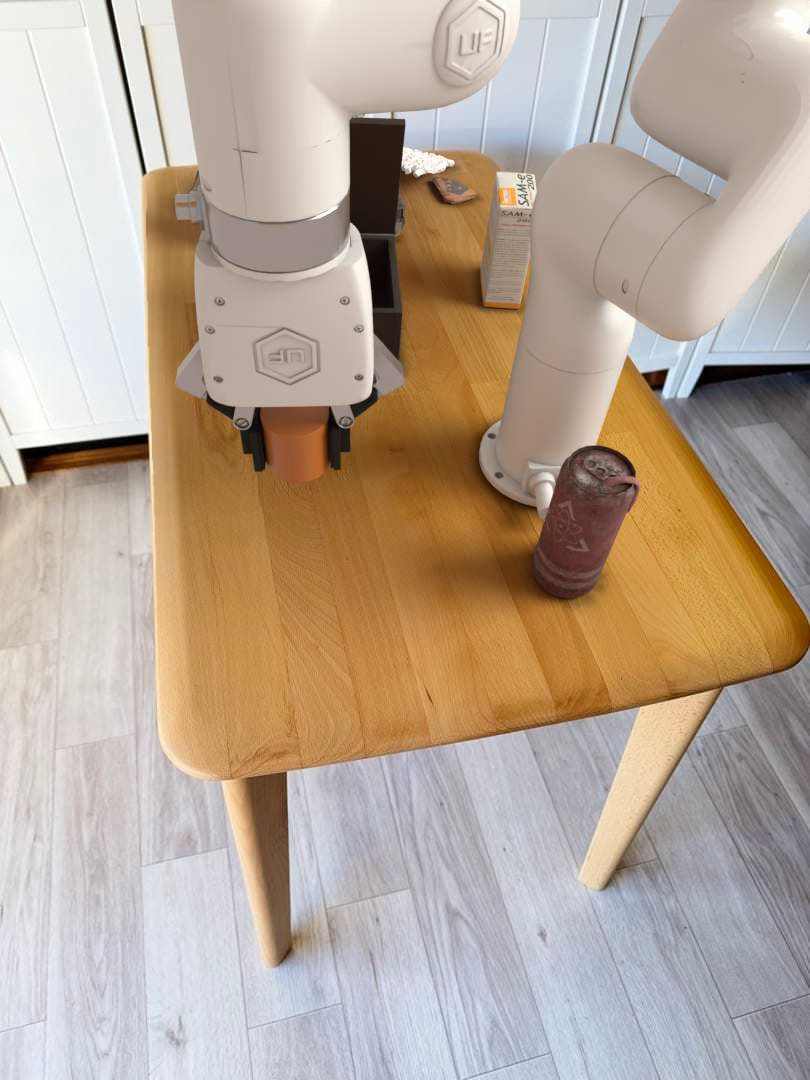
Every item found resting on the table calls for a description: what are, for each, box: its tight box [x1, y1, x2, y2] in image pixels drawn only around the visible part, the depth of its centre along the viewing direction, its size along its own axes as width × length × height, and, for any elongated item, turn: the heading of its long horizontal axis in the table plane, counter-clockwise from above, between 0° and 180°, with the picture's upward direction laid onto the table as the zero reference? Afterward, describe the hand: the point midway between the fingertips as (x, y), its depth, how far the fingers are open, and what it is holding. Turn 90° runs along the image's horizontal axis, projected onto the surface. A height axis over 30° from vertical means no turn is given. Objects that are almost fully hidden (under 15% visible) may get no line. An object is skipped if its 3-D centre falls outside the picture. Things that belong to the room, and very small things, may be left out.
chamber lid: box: [349, 114, 407, 234], centre depth 86 cm, size 15×13×5 cm
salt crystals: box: [401, 146, 456, 179], centre depth 114 cm, size 20×20×2 cm
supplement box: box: [479, 171, 538, 310], centre depth 97 cm, size 8×5×13 cm, turn 179°
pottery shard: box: [431, 176, 478, 205], centre depth 115 cm, size 7×1×5 cm
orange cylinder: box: [260, 406, 331, 484], centre depth 56 cm, size 5×5×4 cm
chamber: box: [360, 235, 403, 362], centre depth 92 cm, size 15×13×8 cm
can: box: [531, 444, 642, 599], centre depth 69 cm, size 6×6×14 cm
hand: (298, 454), depth 57 cm, fingers closed on orange cylinder, 4 cm apart
